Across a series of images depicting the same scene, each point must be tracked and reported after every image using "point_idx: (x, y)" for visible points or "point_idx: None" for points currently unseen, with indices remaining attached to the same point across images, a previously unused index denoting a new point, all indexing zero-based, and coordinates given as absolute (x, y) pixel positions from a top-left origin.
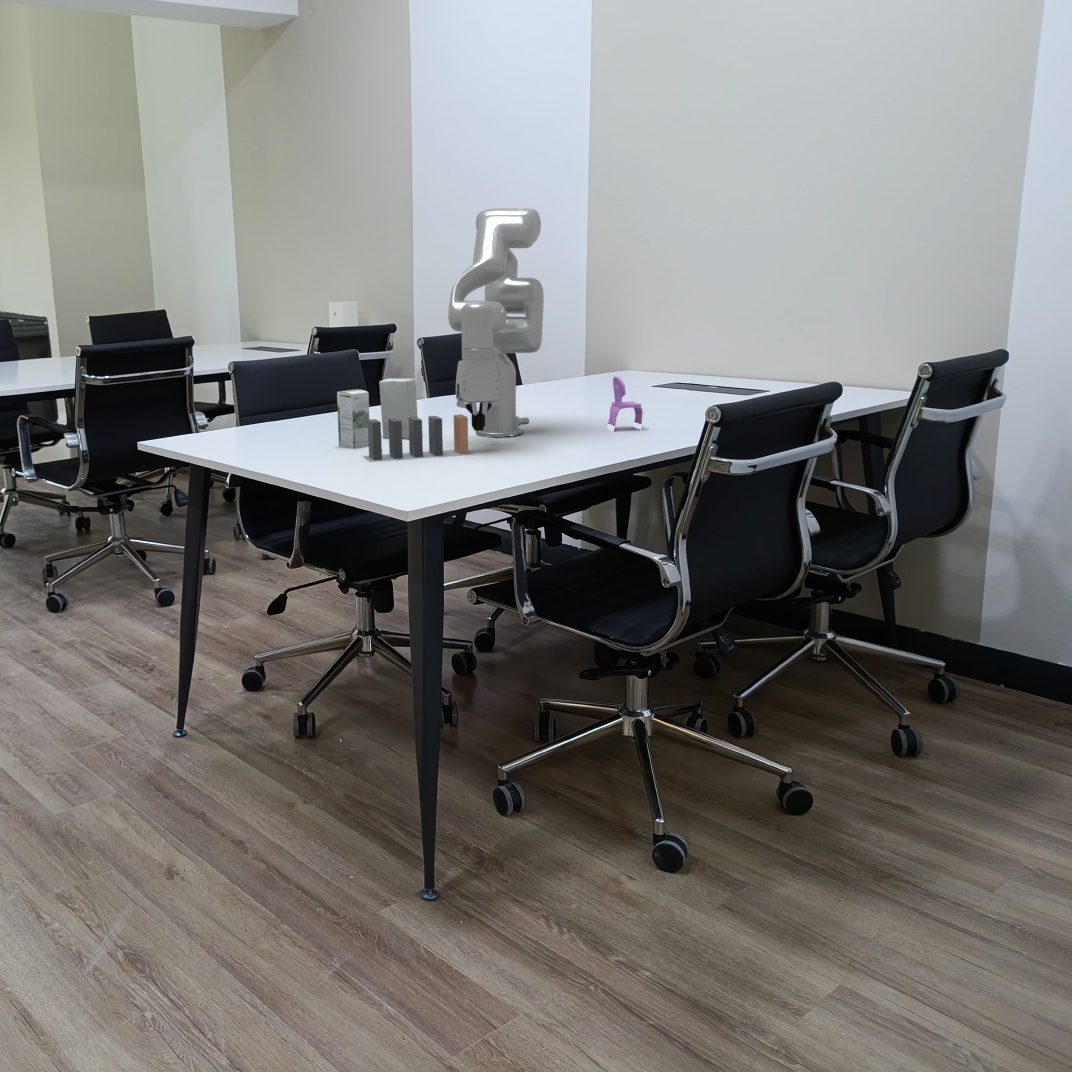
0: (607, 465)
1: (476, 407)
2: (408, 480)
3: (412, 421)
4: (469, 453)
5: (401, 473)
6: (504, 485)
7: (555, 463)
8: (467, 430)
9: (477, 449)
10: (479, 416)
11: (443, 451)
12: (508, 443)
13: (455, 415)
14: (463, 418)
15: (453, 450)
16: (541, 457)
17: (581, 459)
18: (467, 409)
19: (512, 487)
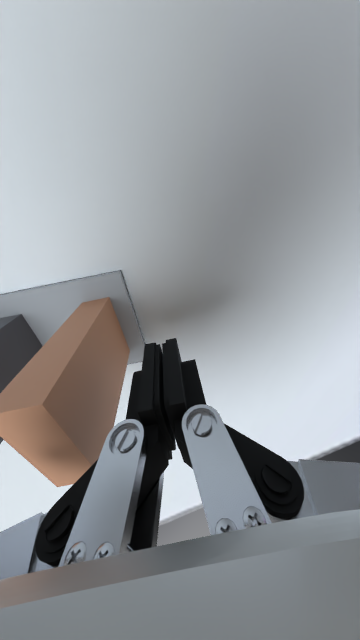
0: (353, 439)
1: (155, 525)
2: (36, 502)
3: None
4: (133, 347)
5: (6, 476)
6: (171, 510)
7: (289, 427)
8: (115, 411)
9: (167, 251)
10: (173, 447)
11: (43, 307)
12: (331, 112)
13: (5, 436)
14: (80, 475)
15: (77, 294)
16: (295, 383)
17: (352, 403)
18: (83, 485)
19: (178, 514)
